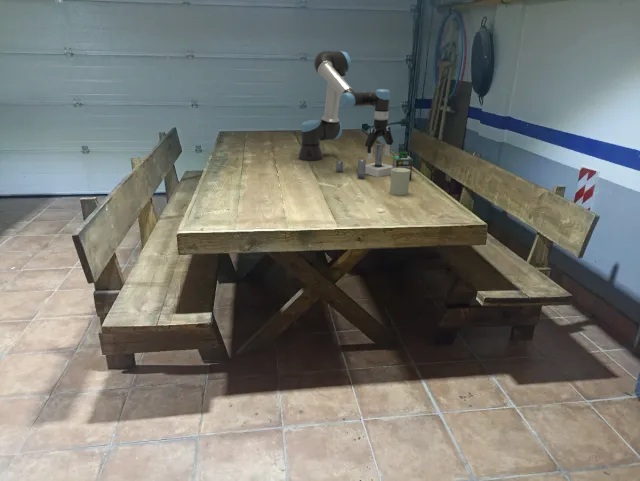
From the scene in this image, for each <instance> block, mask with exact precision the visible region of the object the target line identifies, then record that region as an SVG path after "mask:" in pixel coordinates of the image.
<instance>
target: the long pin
mask: <svg viewBox="0 0 640 481" xmlns="http://www.w3.org/2000/svg"><path fill="white" fill-rule="evenodd" d="M374 153H375V155H374V156H375V157H374V163H375V167H378V168H379V167H382V163H383V153H384V144H381V143H378V144H377V143H376V144H375V152H374Z"/></svg>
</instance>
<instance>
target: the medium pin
mask: <svg viewBox="0 0 640 481" xmlns="http://www.w3.org/2000/svg"><path fill="white" fill-rule="evenodd" d="M357 160H358V161H357V163H358V164H357V179H358V180H365V179H366V174H365V166H366V164H367V161H366V160H367V159H364V158H362V159H361V158H360V159H357Z"/></svg>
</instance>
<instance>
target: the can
mask: <svg viewBox="0 0 640 481" xmlns="http://www.w3.org/2000/svg"><path fill="white" fill-rule="evenodd" d="M409 177H410V170H409V169H407V168H393V169H391V175H390V184H389V185H390V187H389V188H390V189H389V193H390V194H391V195H393V196H407V195H409V189H410V188H409V187H410V186H409V185H410V180H409Z"/></svg>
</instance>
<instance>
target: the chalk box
mask: <svg viewBox="0 0 640 481" xmlns="http://www.w3.org/2000/svg"><path fill="white" fill-rule="evenodd" d="M408 154H409V152H408V151H399V155H394V156H392V166H393V167H392V169H393V168H407V169H409V170H410V177H409V181H411V180H412V174H413V173H412V172H413V161H414V160H413V158H412V157H411V156H409V155H408Z"/></svg>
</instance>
